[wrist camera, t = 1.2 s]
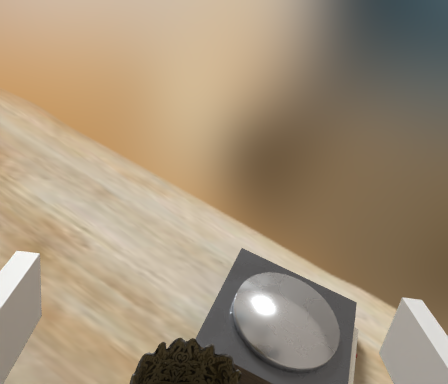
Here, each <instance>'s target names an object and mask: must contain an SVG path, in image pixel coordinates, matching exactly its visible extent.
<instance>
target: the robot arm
mask: <svg viewBox="0 0 448 384" xmlns="http://www.w3.org/2000/svg"><path fill="white" fill-rule="evenodd" d="M41 316H42V313H41V278H40V254H39V253H31V252H23V251H16V253H15V254H14V255H13V256H12V257H11V259H10V260H9V261H8V262H7V264H6V265H5V266H4V267H3V268H2V270H1V271H0V384H3V383H4V381H5V380H6V378H7V376H8V374H9V373H10V371H11V369H12V367H13V366H14V364H15V362H16V360H17V358H18V357H19V355H20V353H21V351H22V350H23V348H24V346H25V344H26V343H27V341H28V339H29V337H30V335H31V334H32V332H33V330H34V328H35V327H36V325H37V323H38V321H39V320H40V318H41ZM379 354H380V356H381V358H382V360H383V362H384V364H385V366H386V368H387V371H388V373H389V375H390V377H391V379H392V381H393V383H394V384H448V336H447V335H446V334H445V332H444V331H443V329H442V328H441V326H440V325H439V324H438V322H437V321H436V319H435V318H434V317H433V315H432V314H431V312H430V311H429V309H428V308H427V307H426V305H425V304H424V302H423V301H422V300H417V299H409V298H402V300H401V302H400V304H399V307H398V309H397V311H396V314H395V316H394V319H393V321H392V323H391V326H390V328H389V330H388V333H387V335H386V337H385V340H384V342H383V345H382V347H381V349H380V352H379Z"/></svg>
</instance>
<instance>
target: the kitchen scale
mask: <svg viewBox="0 0 448 384" xmlns="http://www.w3.org/2000/svg"><path fill="white" fill-rule="evenodd" d="M355 312H356V302H354V301H352V300H350V299H348V298H346V297H344V296H342V295H339V294H337V293H335V292H333V291H331V290H329V289H327V288H325V287H323V286H321V285H318V284H316V283H314V282H312V281H310V280H308V279H306V278H304V277H302V276H300V275H297V274H295V273H293V272H291V271H289V270H287V269H285V268H283V267H281V266H278V265H276V264H274V263H272V262H270V261H268V260H266V259H264V258H262V257H260V256H257V255H255V254H253V253H251V252H249V251H247V250H245V249H243V248H242V249H241V251H240V253H239V255H238V257H237V259H236V261H235V262H234V264H233V266H232V268H231V270H230V272H229V274H228V276H227V278H226V280H225V282H224V284H223V286H222V288H221V290H220V292H219V294H218V296H217V298H216V300H215V302H214V304H213V306H212V308H211V310H210V312H209V314H208V316H207V317H206V319H205V321H204V323H203V325H202V327H201V329H200V331H199V333H198V335H197V337H196V340H197V342H198V344H200V347H201V350H202V349H204V348H205V346H207V345H209V344H214V348H215V353H216V354H218V355H219V354H228V355H230V356H232V358H233V360H234V368H235V371H236V370H239V371H241V378H240V384H353V382H354V371H355V360H356V357H357V354H356V349H357V338H358V329H356V328H354V322H355Z"/></svg>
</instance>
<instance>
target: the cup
mask: <svg viewBox="0 0 448 384" xmlns="http://www.w3.org/2000/svg"><path fill="white" fill-rule="evenodd" d="M167 348H168V349H166V343H165V342H162V343H161V344H159V346H158V348H157V350H156V351H155V352H154V353H152V354H151V353H146V354H144V355H143V356H142V358H141V360H140V361H139V363H138V366H137V368H136V371H135V373H134V374H133V375H132V377H131V380H130V384H240V378H241V371H239V370H236V371H235V368H234V360H233V358H232V356H230V355H228V354H219V355H218V354H216V353H215V348H214V344H209V345H207V346H205V348H204V349H202V350H201V347H200V344H198V342H197V340H196V339H193V338H192V339H190V340H189V341H186V342H185V340H183V339H182V338H178V339H176V340H175V341H174V342H173V343H172V344H171V345H170V346H169V347H167Z"/></svg>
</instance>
